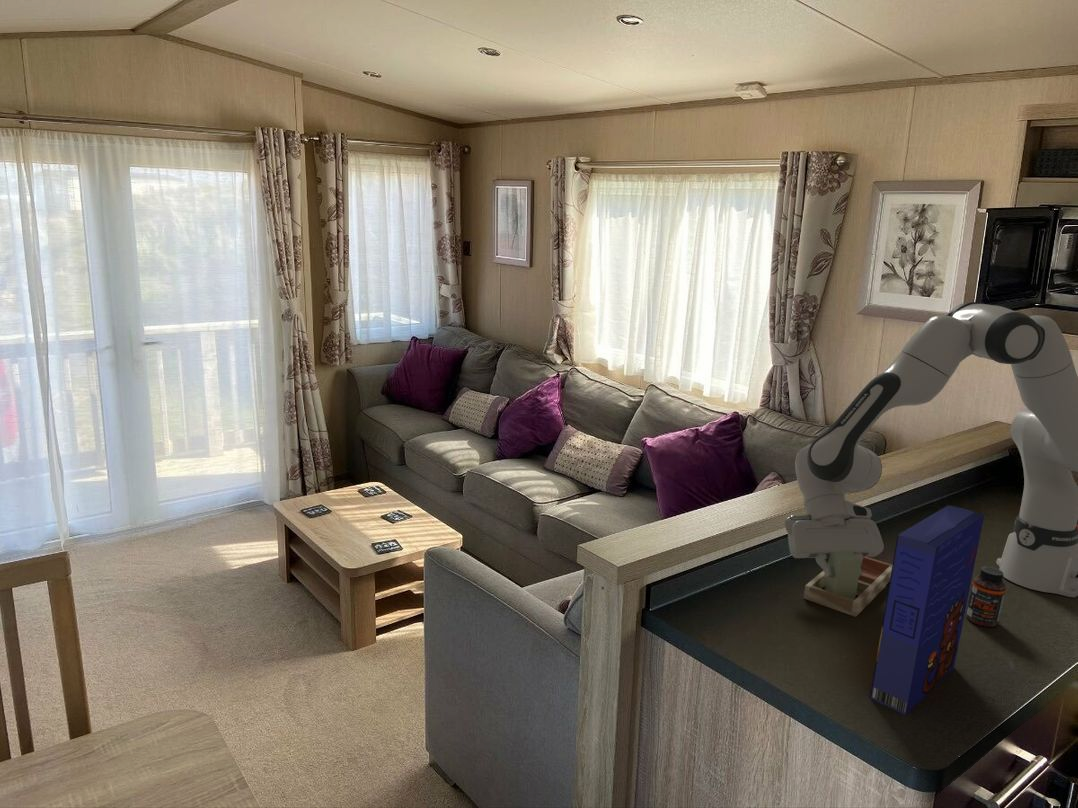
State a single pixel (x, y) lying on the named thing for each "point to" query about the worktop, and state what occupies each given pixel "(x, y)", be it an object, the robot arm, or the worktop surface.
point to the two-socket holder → (867, 588)
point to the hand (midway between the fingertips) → (844, 576)
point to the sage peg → (844, 574)
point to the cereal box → (925, 606)
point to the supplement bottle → (986, 597)
